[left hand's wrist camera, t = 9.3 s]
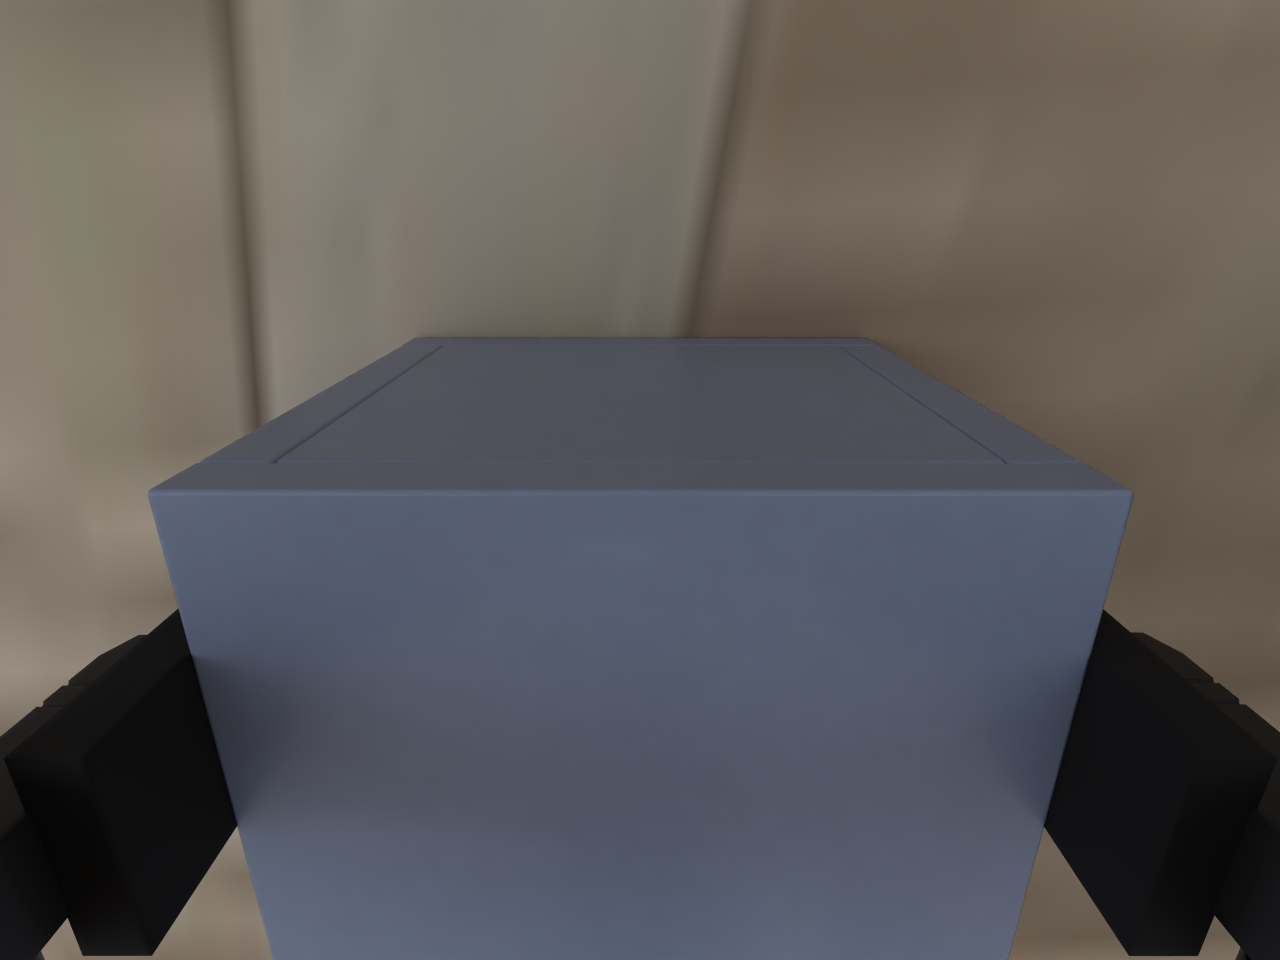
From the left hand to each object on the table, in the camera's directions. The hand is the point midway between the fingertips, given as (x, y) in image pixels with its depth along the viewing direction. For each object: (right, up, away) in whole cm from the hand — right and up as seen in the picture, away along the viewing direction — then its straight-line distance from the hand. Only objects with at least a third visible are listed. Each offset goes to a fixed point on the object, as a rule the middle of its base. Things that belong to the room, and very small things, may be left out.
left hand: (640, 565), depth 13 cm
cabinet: (0, -3, +6) cm, 7 cm away
